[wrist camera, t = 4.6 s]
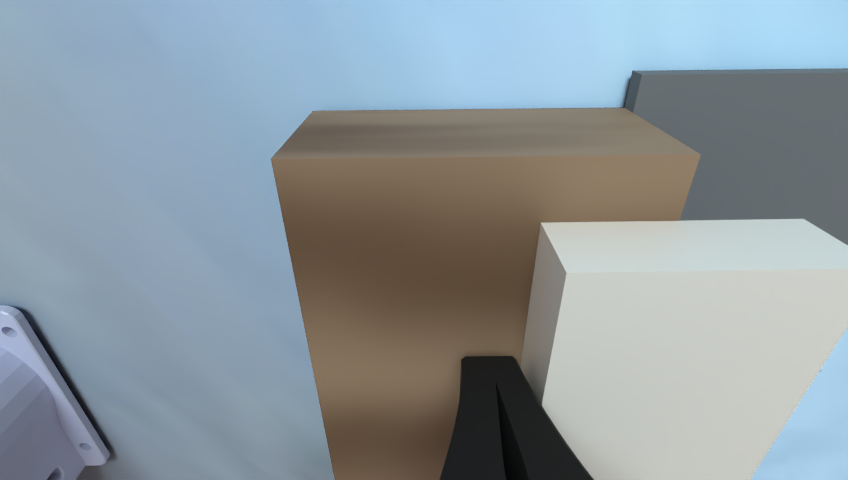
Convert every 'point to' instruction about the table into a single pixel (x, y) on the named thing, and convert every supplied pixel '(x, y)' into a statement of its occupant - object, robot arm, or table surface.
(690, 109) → the mat
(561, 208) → the brown wooden block
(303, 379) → the table surface
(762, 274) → the cream foam block
